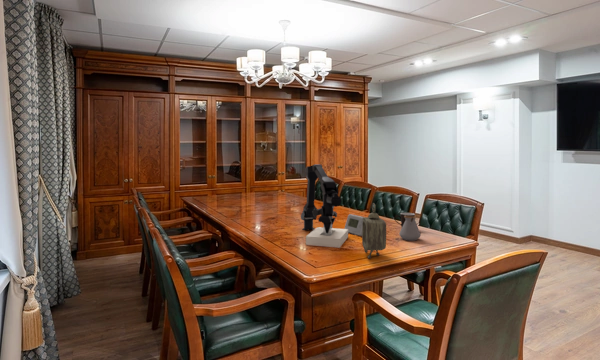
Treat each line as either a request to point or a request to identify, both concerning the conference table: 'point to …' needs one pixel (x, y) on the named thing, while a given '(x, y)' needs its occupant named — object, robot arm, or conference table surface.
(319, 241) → the slot board
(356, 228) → the digital clock
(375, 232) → the shaggy robed figurine
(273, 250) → the conference table surface
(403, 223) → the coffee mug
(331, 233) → the light grey rectangular block
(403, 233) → the coffee pot
